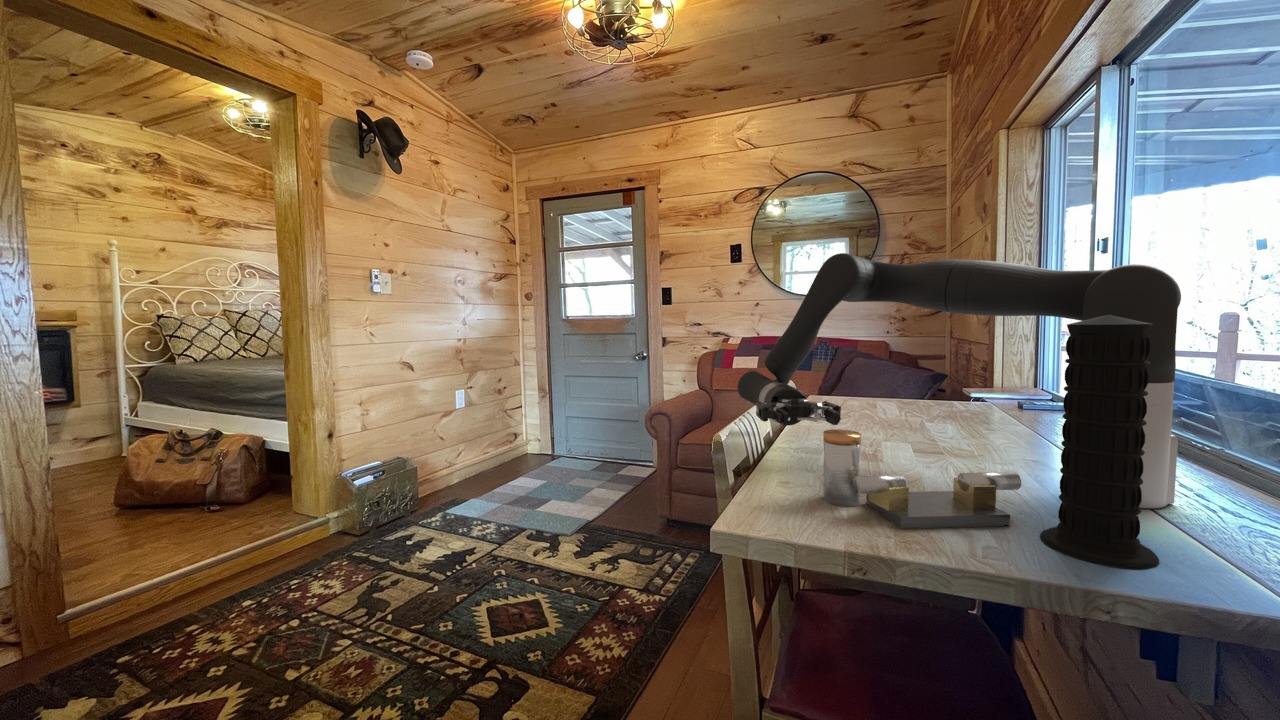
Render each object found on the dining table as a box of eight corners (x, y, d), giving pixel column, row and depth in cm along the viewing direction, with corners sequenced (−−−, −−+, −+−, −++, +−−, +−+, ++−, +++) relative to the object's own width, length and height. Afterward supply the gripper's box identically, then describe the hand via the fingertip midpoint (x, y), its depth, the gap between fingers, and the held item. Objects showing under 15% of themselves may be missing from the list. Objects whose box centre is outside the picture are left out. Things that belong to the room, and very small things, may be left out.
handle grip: (1188, 571, 51) (1107, 530, 61) (1205, 313, 49) (1119, 314, 59) (1083, 567, 52) (1020, 528, 62) (1095, 314, 50) (1028, 316, 60)
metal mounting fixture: (989, 500, 72) (990, 462, 72) (1040, 525, 63) (1042, 482, 63) (842, 503, 72) (842, 466, 71) (873, 529, 63) (873, 486, 62)
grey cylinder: (850, 494, 76) (851, 429, 75) (866, 506, 71) (867, 436, 70) (817, 494, 76) (818, 429, 75) (831, 507, 71) (832, 437, 70)
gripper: (746, 384, 100) (769, 397, 83) (817, 383, 100) (854, 397, 84) (746, 421, 100) (769, 441, 84) (816, 420, 101) (852, 440, 84)
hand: (811, 419), depth 84 cm, fingers open, 8 cm apart
